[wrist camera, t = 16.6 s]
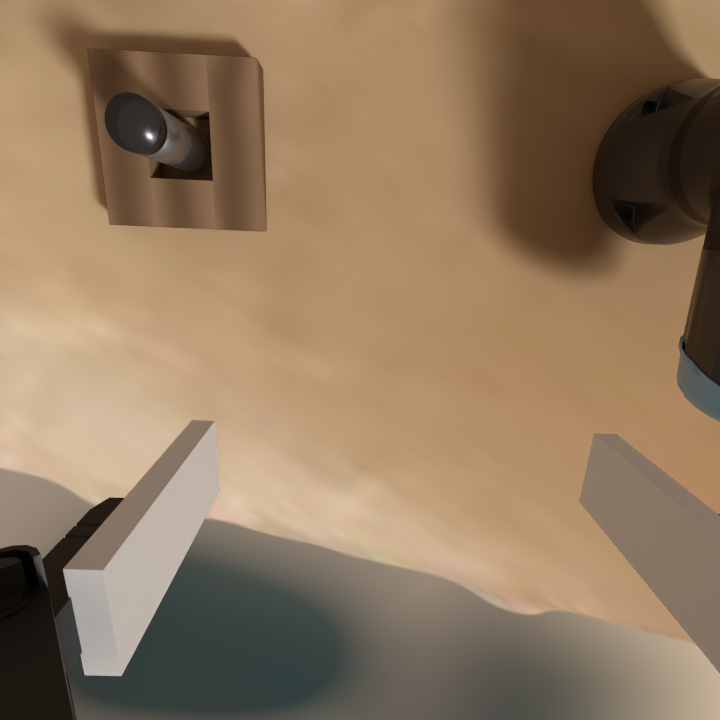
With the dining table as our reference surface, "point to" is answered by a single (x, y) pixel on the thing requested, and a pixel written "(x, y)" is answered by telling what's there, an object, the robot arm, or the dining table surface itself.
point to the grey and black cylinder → (155, 133)
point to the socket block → (186, 100)
